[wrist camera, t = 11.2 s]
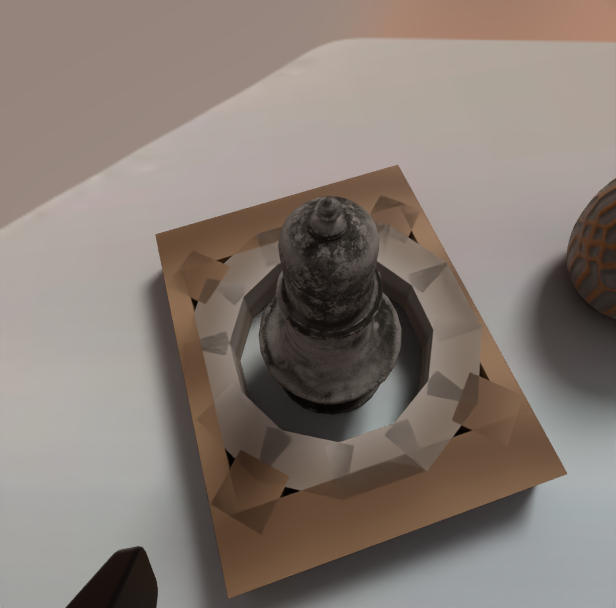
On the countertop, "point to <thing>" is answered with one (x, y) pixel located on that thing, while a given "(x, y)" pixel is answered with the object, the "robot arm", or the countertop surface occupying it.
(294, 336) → the grey chess piece
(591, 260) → the vase
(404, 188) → the bore block
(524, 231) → the countertop surface
